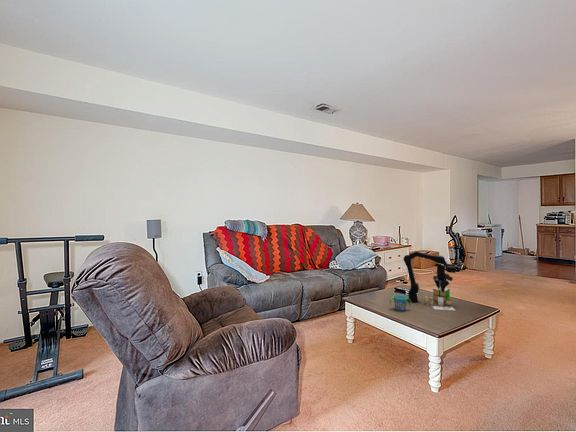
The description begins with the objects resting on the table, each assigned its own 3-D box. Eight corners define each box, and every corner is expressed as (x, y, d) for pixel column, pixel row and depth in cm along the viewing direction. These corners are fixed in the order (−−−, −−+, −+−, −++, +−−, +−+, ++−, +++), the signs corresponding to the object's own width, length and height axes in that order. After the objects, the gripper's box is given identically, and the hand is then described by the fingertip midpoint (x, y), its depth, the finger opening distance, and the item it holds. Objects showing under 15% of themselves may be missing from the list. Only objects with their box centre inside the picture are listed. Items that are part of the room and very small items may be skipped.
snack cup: (409, 308, 221) (409, 295, 221) (412, 312, 211) (412, 299, 211) (389, 306, 225) (389, 294, 225) (390, 311, 215) (390, 298, 215)
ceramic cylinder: (438, 305, 226) (438, 298, 226) (437, 304, 230) (437, 296, 229) (444, 305, 225) (444, 298, 225) (442, 304, 229) (442, 297, 229)
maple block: (426, 305, 227) (426, 298, 227) (424, 303, 232) (424, 296, 232) (433, 305, 226) (433, 298, 226) (431, 303, 231) (431, 296, 231)
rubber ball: (447, 305, 225) (447, 301, 225) (445, 304, 228) (445, 300, 228) (451, 306, 224) (451, 301, 224) (450, 304, 228) (450, 300, 228)
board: (434, 310, 216) (434, 308, 216) (431, 306, 223) (431, 305, 223) (455, 311, 213) (455, 309, 213) (452, 307, 221) (452, 306, 221)
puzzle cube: (437, 297, 246) (437, 286, 246) (449, 300, 239) (449, 288, 239) (433, 300, 239) (433, 288, 239) (446, 303, 232) (446, 291, 232)
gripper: (456, 274, 216) (456, 294, 216) (447, 269, 234) (447, 287, 235) (440, 274, 218) (440, 293, 218) (432, 269, 236) (432, 287, 237)
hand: (440, 290), depth 227 cm, fingers open, 9 cm apart
